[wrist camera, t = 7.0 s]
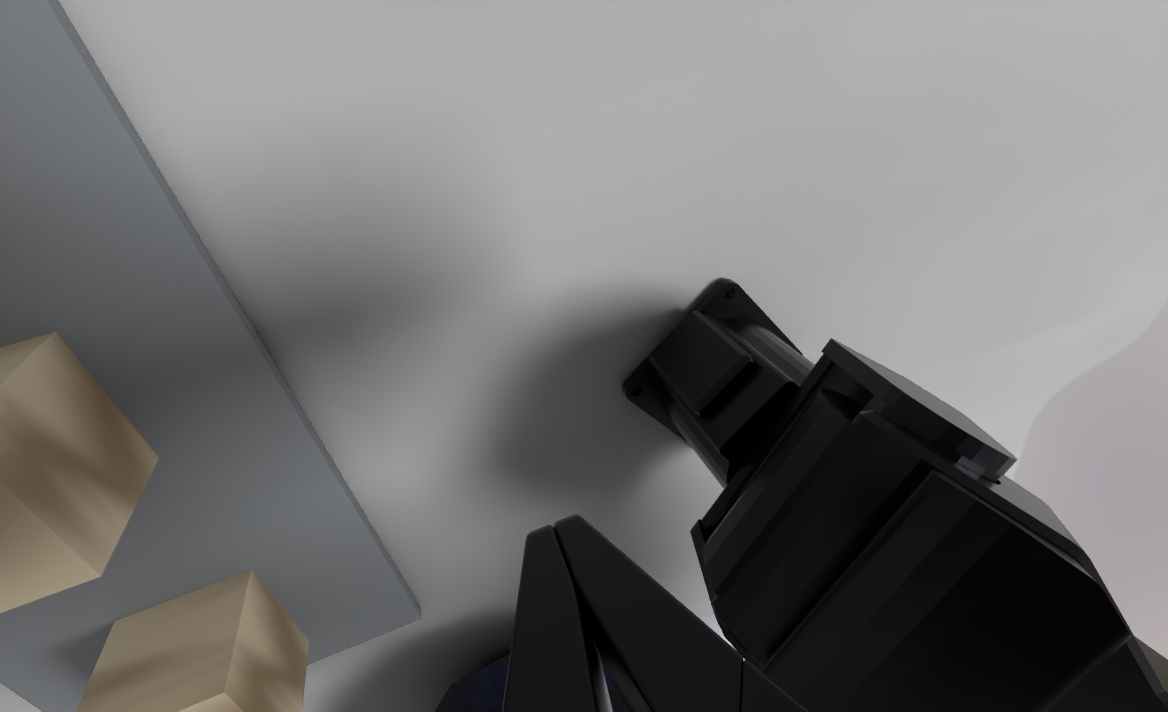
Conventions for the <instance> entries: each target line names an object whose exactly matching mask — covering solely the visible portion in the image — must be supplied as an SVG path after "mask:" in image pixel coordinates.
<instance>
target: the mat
mask: <svg viewBox="0 0 1168 712" xmlns="http://www.w3.org/2000/svg"><path fill="white" fill-rule="evenodd" d="M55 331H56V333H57V334H58V335H59V336H60V338H61V339H62V340H63V341H64V342H65V344H66V345H67V346H68V347H69V349H70V350H71V351H72V352H73V353H74V355H75V356H76V357H77V358H78V359H79V361H80V362H81V363H82V364H83V366H84V367H85V368H86V369H87V370H88V372H89V373H90V374H91V375H92V376H93V378H94V379H95V380H96V381H97V383H98V384H99V385H100V386H101V387H102V389H103V390H104V391H105V392H106V394H107V395H108V396H109V397H110V398H111V400H112V401H113V402H114V403H115V404H116V406H117V407H118V408H119V409H120V411H121V412H122V413H123V414H124V415H125V417H126V418H127V419H128V420H129V421H130V423H131V424H132V425H133V426H134V428H135V429H136V430H137V431H138V432H139V434H140V435H141V436H142V437H143V439H144V440H145V441H146V442H147V443H148V445H149V446H150V447H151V448H152V449H153V451H154V452H155V453H156V454H157V456H158V457H159V460H158V462H157V464H156V466H155V468H154V470H153V472H152V474H151V476H150V478H149V480H148V482H147V484H146V486H145V488H144V490H143V492H142V494H141V496H140V498H139V500H138V502H137V504H136V506H135V508H134V510H133V513H132V515H131V517H130V519H129V521H128V523H127V525H126V527H125V529H124V531H123V533H122V535H121V537H120V539H119V541H118V543H117V545H116V547H115V549H114V551H113V553H112V555H111V557H110V559H109V561H108V563H107V565H106V567H105V569H104V571H103V573H102V575H101V577H98V578H96V579H93V580H90V581H87V582H85V583H82V584H79V585H76V586H74V587H71V588H68V589H65V590H63V591H60V592H57V593H54V594H52V595H49V596H46V597H43V598H41V599H38V600H35V601H32V602H30V603H27V604H24V605H21V606H19V607H16V608H13V609H10V610H8V611H5V612H2V613H0V683H2V684H3V685H4V686H6V687H7V688H9V689H10V690H12V691H13V692H15V693H16V694H18V695H19V696H21V697H22V698H23V699H25V700H26V701H28V702H29V703H31V704H32V705H34V706H35V707H37V708H38V709H40V710H41V711H42V712H76V710H77V707H78V705H79V703H80V700H81V698H82V696H83V693H84V691H85V689H86V687H87V684H88V682H89V680H90V677H91V675H92V673H93V670H94V668H95V666H96V663H97V661H98V659H99V656H100V654H101V652H102V649H103V647H104V645H105V643H106V640H107V638H108V636H109V633H110V631H111V629H112V626H113V624H114V622H115V621H117V620H119V619H122V618H125V617H127V616H130V615H133V614H135V613H138V612H141V611H143V610H146V609H148V608H151V607H154V606H156V605H159V604H162V603H164V602H167V601H170V600H172V599H175V598H178V597H180V596H183V595H186V594H188V593H191V592H194V591H196V590H199V589H202V588H204V587H207V586H209V585H212V584H215V583H217V582H220V581H223V580H225V579H228V578H231V577H233V576H236V575H239V574H241V573H244V572H247V571H249V570H252V571H253V573H254V574H255V575H256V576H257V578H258V579H259V580H260V581H261V582H262V584H263V585H264V586H265V587H266V589H267V590H268V591H269V592H270V593H271V595H272V596H273V597H274V598H275V599H276V601H277V602H278V603H279V604H280V606H281V607H282V608H283V609H284V610H285V612H286V613H287V614H288V615H289V616H290V618H291V619H292V620H293V621H294V623H295V624H296V625H297V626H298V627H299V629H300V630H301V631H302V632H303V633H304V635H305V636H306V637H307V638H308V640H309V646H308V656H307V665H308V664H311V663H313V662H315V661H318V660H320V659H323V658H325V657H328V656H330V655H333V654H335V653H337V652H340V651H342V650H345V649H347V648H350V647H352V646H355V645H357V644H359V643H362V642H364V641H367V640H369V639H372V638H374V637H377V636H379V635H381V634H384V633H386V632H389V631H391V630H394V629H396V628H398V627H401V626H403V625H406V624H408V623H411V622H413V621H416V620H418V619H420V618H421V608H420V606H419V604H418V602H417V601H416V599H415V597H414V596H413V594H412V592H411V591H410V589H409V587H408V586H407V584H406V582H405V581H404V579H403V577H402V576H401V574H400V572H399V571H398V569H397V567H396V566H395V564H394V562H393V561H392V559H391V557H390V555H389V554H388V552H387V550H386V549H385V547H384V545H383V544H382V542H381V540H380V539H379V537H378V535H377V534H376V532H375V530H374V529H373V527H372V525H371V524H370V522H369V520H368V519H367V517H366V515H365V514H364V512H363V510H362V509H361V507H360V505H359V504H358V502H357V500H356V499H355V497H354V495H353V494H352V492H351V490H350V489H349V487H348V485H347V483H346V482H345V480H344V478H343V477H342V475H341V473H340V472H339V470H338V468H337V467H336V465H335V463H334V462H333V460H332V458H331V457H330V455H329V453H328V452H327V450H326V448H325V447H324V445H323V443H322V442H321V440H320V438H319V437H318V435H317V433H316V432H315V430H314V428H313V427H312V425H311V423H310V422H309V420H308V418H307V417H306V415H305V413H304V411H303V410H302V408H301V406H300V405H299V403H298V401H297V400H296V398H295V396H294V395H293V393H292V391H291V390H290V388H289V386H288V385H287V383H286V381H285V380H284V378H283V376H282V375H281V373H280V371H279V370H278V368H277V366H276V365H275V363H274V361H273V360H272V358H271V356H270V355H269V353H268V351H267V350H266V348H265V346H264V345H263V343H262V341H261V340H260V338H259V336H258V334H257V333H256V331H255V329H254V328H253V326H252V324H251V323H250V321H249V319H248V318H247V316H246V314H245V313H244V311H243V309H242V308H241V306H240V304H239V303H238V301H237V299H236V298H235V296H234V294H233V293H232V291H231V289H230V288H229V286H228V284H227V283H226V281H225V279H224V278H223V276H222V274H221V273H220V271H219V269H218V268H217V266H216V264H215V262H214V261H213V259H212V257H211V256H210V254H209V252H208V251H207V249H206V247H205V246H204V244H203V242H202V241H201V239H200V237H199V236H198V234H197V232H196V231H195V229H194V227H193V226H192V224H191V222H190V221H189V219H188V217H187V216H186V214H185V212H184V211H183V209H182V207H181V206H180V204H179V202H178V201H177V199H176V197H175V196H174V194H173V192H172V190H171V189H170V187H169V185H168V184H167V182H166V180H165V179H164V177H163V175H162V174H161V172H160V170H159V169H158V167H157V165H156V164H155V162H154V160H153V159H152V157H151V155H150V154H149V152H148V150H147V149H146V147H145V145H144V144H143V142H142V140H141V139H140V137H139V135H138V134H137V132H136V130H135V129H134V127H133V125H132V124H131V122H130V120H129V119H128V117H127V115H126V113H125V112H124V110H123V108H122V107H121V105H120V103H119V102H118V100H117V98H116V97H115V95H114V93H113V92H112V90H111V88H110V87H109V85H108V83H107V82H106V80H105V78H104V77H103V75H102V73H101V72H100V70H99V68H98V67H97V65H96V63H95V62H94V60H93V58H92V57H91V55H90V53H89V52H88V50H87V48H86V47H85V45H84V43H83V41H82V40H81V38H80V36H79V35H78V33H77V31H76V30H75V28H74V26H73V25H72V23H71V21H70V20H69V18H68V16H67V15H66V13H65V11H64V10H63V8H62V6H61V5H60V3H59V1H58V0H0V348H1V347H5V346H8V345H11V344H15V343H18V342H21V341H25V340H28V339H32V338H35V337H38V336H42V335H45V334H49V333H52V332H55Z"/></svg>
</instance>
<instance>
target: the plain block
mask: <svg viewBox="0 0 1168 712" xmlns="http://www.w3.org/2000/svg"><path fill="white" fill-rule="evenodd" d="M158 460H159V457H158V456H157V454H156V453H155V452H154V451H153V449H152V448H151V447H150V446H149V445H148V443H147V442H146V441H145V440H144V439H143V437H142V436H141V435H140V434H139V432H138V431H137V430H136V429H135V428H134V426H133V425H132V424H131V423H130V421H129V420H128V419H127V418H126V417H125V415H124V414H123V413H122V412H121V411H120V409H119V408H118V407H117V406H116V404H115V403H114V402H113V401H112V400H111V398H110V397H109V396H108V395H107V394H106V392H105V391H104V390H103V389H102V387H101V386H100V385H99V384H98V383H97V381H96V380H95V379H94V378H93V376H92V375H91V374H90V373H89V372H88V370H87V369H86V368H85V367H84V366H83V364H82V363H81V362H80V361H79V359H78V358H77V357H76V356H75V355H74V353H73V352H72V351H71V350H70V349H69V347H68V346H67V345H66V344H65V342H64V341H63V340H62V339H61V338H60V336H59V335H58V334H57V333H56V331H55V332H52V333H49V334H45V335H42V336H38V337H35V338H32V339H28V340H25V341H21V342H18V343H15V344H11V345H8V346H5V347H1V348H0V613H2V612H5V611H8V610H10V609H13V608H16V607H19V606H21V605H24V604H27V603H30V602H32V601H35V600H38V599H41V598H43V597H46V596H49V595H52V594H54V593H57V592H60V591H63V590H65V589H68V588H71V587H74V586H76V585H79V584H82V583H85V582H87V581H90V580H93V579H96V578H98V577H101V575H102V573H103V571H104V569H105V567H106V565H107V563H108V561H109V559H110V557H111V555H112V553H113V551H114V549H115V547H116V545H117V543H118V541H119V539H120V537H121V535H122V533H123V531H124V529H125V527H126V525H127V523H128V521H129V519H130V517H131V515H132V513H133V510H134V508H135V506H136V504H137V502H138V500H139V498H140V496H141V494H142V492H143V490H144V488H145V486H146V484H147V482H148V480H149V478H150V476H151V474H152V472H153V470H154V468H155V466H156V464H157V462H158Z"/></svg>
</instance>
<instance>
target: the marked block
mask: <svg viewBox="0 0 1168 712" xmlns="http://www.w3.org/2000/svg"><path fill="white" fill-rule="evenodd" d="M308 646H309V640H308V638H307V637H306V636H305V635H304V633H303V632H302V631H301V630H300V629H299V627H298V626H297V625H296V624H295V623H294V621H293V620H292V619H291V618H290V616H289V615H288V614H287V613H286V612H285V610H284V609H283V608H282V607H281V606H280V604H279V603H278V602H277V601H276V599H275V598H274V597H273V596H272V595H271V593H270V592H269V591H268V590H267V589H266V587H265V586H264V585H263V584H262V582H261V581H260V580H259V579H258V578H257V576H256V575H255V574H254V573H253V571H252V570H249V571H247V572H244V573H241V574H239V575H236V576H233V577H231V578H228V579H225V580H223V581H220V582H217V583H215V584H212V585H209V586H207V587H204V588H202V589H199V590H196V591H194V592H191V593H188V594H186V595H183V596H180V597H178V598H175V599H172V600H170V601H167V602H164V603H162V604H159V605H156V606H154V607H151V608H148V609H146V610H143V611H141V612H138V613H135V614H133V615H130V616H127V617H125V618H122V619H119V620H117V621H115V622H114V624H113V626H112V629H111V631H110V633H109V636H108V638H107V640H106V643H105V645H104V647H103V649H102V652H101V654H100V656H99V659H98V661H97V663H96V666H95V668H94V670H93V673H92V675H91V677H90V680H89V682H88V684H87V687H86V689H85V691H84V693H83V696H82V698H81V700H80V703H79V705H78V707H77V710H76V712H302V706H303V696H304V686H305V676H306V666H307V656H308Z"/></svg>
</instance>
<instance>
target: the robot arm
mask: <svg viewBox="0 0 1168 712" xmlns="http://www.w3.org/2000/svg"><path fill="white" fill-rule="evenodd" d="M729 288H730V291H729V293H728V294H727V295H726V296H724V293H725V291H726V290H727V289H729ZM822 352H823V353H824V354H823V355H822V356H821V358H820V359H819V361H818V362H817V363H816V365H814V364H813V363H812V362H810V361H809V360H808V359H806V358H805V357H804V356H803V354H802V353H801V352H800V351H799V350H798V349H797V348H796V347H795V345H794V344H793V343H792V342H791V341H790V340H789V339H788V338H787V337H786V336H785V335H784V334H783V332H782V331H781V330H780V329H779V328H778V327H777V326H776V325H775V324H774V323H773V322H772V321H771V320H770V318H769V317H768V316H767V315H766V314H765V313H764V312H763V311H762V310H761V309H760V308H759V307H758V305H757V304H756V303H755V302H754V301H753V300H752V299H751V298H750V297H749V296H748V295H747V294H746V293H745V291H744V290H743V289H742V288H741V287H740V286H739V285H738V284H736V283H735V282H734V281H732V280H730V279H724V280H722V281H720V282H719V283H718V284H717V285H716V286H715V287H714V288H713V289H712V290H711V291H710V292H709V293H708V294H707V295H706V296H705V297H704V298H703V300H702V301H701V302H700V303H699V304H698V305H697V306H696V307H695V308H694V309H693V310H692V311H691V312H690V313H689V314H688V315H687V316H686V317H685V318H684V319H683V320H682V321H681V323H680V324H679V325H678V326H677V327H676V328H675V329H674V330H673V331H672V332H671V333H670V334H669V335H668V336H667V337H666V338H665V339H664V340H663V341H662V342H661V344H660V345H659V346H658V347H657V348H656V349H655V350H654V351H653V352H652V353H651V354H650V355H649V356H648V357H647V358H646V359H645V360H644V362H643V363H642V364H641V365H640V366H639V367H638V368H637V369H636V370H635V371H634V372H633V373H632V374H631V375H630V376H629V377H628V378H627V379H626V380H625V382H624V383H623V386H622V390H623V393H624V394H625V395H626V397H627V398H628V399H629V400H630V401H631V402H633V403H634V404H636V405H637V406H638V407H640V408H641V409H642V410H644V411H645V412H647V413H648V414H649V415H651V416H652V417H653V418H655V419H656V420H657V421H659V422H660V423H662V424H663V425H664V426H666V427H667V428H668V429H670V430H671V431H673V432H674V433H675V434H677V435H678V436H679V437H681V438H682V439H683V440H685V441H686V442H688V443H689V444H690V446H691V447H692V448H693V449H694V451H695V452H696V453H697V455H698V456H699V457H700V458H701V460H702V461H703V462H704V464H705V465H706V466H707V468H708V469H709V470H710V471H711V473H712V474H713V475H714V477H715V478H716V479H717V481H718V482H719V483H720V484H721V486H722V487H723V488H724V490H723V491H722V493H721V494H720V496H719V497H718V498H717V500H716V501H715V502H714V504H713V505H712V506H711V508H710V509H709V511H708V512H707V513H706V515H705V516H704V517H703V519H702V520H700V519H699V520H698V521H697V522H696V524H695V525H694V526H693V528H692V529H691V531H690V532H691V536H692V539H693V543H694V546H695V549H696V553H697V556H698V560H699V563H700V567H701V570H702V574H703V577H704V580H705V584H706V587H707V591H708V594H709V598H710V601H711V605H712V608H713V611H714V614H715V617H716V619H717V622H718V624H719V626H720V628H721V629H722V632H723V634H724V636H725V638H726V639H727V640H728V641H729V642H730V643H731V644H732V645H733V647H734V648H735V649H736V650H737V651H738V652H737V651H736V650H735V649H734V648H733V647H732V646H730V645H729V644H728V643H727V642H726V641H725V640H723V639H722V638H721V637H720V636H719V635H718V634H717V633H715V632H714V631H713V630H712V629H711V628H710V627H708V626H707V625H706V624H705V623H704V622H703V621H701V620H700V619H699V618H698V617H697V616H696V615H695V614H693V613H692V612H691V611H690V610H689V609H688V608H686V607H685V606H684V605H683V604H682V603H681V602H679V601H678V600H677V599H676V598H675V597H674V596H673V595H671V594H670V593H669V592H668V591H667V590H666V589H664V588H663V587H662V586H661V585H660V584H659V583H657V582H656V581H655V580H654V579H653V578H652V577H651V576H649V575H648V574H647V573H646V572H645V571H644V570H642V569H641V568H640V567H639V566H638V565H637V564H635V563H634V562H633V561H632V560H631V559H630V558H628V557H627V556H626V555H625V554H624V553H623V552H622V551H620V550H619V549H618V548H617V547H616V546H615V545H613V544H612V543H611V542H610V541H609V540H608V539H606V538H605V537H604V536H603V535H602V534H601V533H600V532H598V531H597V530H596V529H595V528H594V527H593V526H591V525H590V524H589V523H588V522H587V521H586V520H584V519H583V518H582V517H581V516H579V515H572V516H570V517H567V518H565V519H562V520H559V521H557V522H556V523H555V524H554V528H553V526H551V525H547V526H544V527H542V528H539V529H537V530H534V531H532V532H530V533H529V534H528V535H527V537H526V543H525V550H524V557H523V564H522V571H521V579H520V586H519V593H518V600H517V607H516V614H515V622H514V629H513V636H512V643H511V650H510V657H509V665H508V672H507V679H506V686H505V693H504V701H503V708H502V712H613V711H612V706H611V702H610V698H609V694H608V689H607V685H606V681H605V677H604V673H603V669H602V665H601V662H600V659H599V656H600V658H601V661H602V663H603V665H604V667H605V669H606V672H607V674H608V676H609V678H610V680H611V682H612V684H613V686H614V688H615V690H616V692H617V694H618V696H619V698H620V700H621V702H622V704H623V706H624V708H625V710H626V712H1168V660H1167V659H1166V658H1165V657H1163V656H1162V655H1160V654H1159V653H1157V652H1156V651H1154V650H1153V649H1152V648H1150V647H1149V646H1147V645H1146V644H1145V643H1143V642H1142V641H1140V640H1139V639H1138V638H1136V637H1135V636H1134V635H1133V633H1132V632H1131V630H1130V628H1129V626H1128V625H1127V623H1126V621H1125V619H1124V618H1123V616H1122V614H1121V612H1120V611H1119V609H1118V607H1117V605H1116V604H1115V602H1114V600H1113V598H1112V597H1111V595H1110V593H1109V591H1108V590H1107V588H1106V586H1105V584H1104V583H1103V581H1102V579H1101V577H1100V576H1099V574H1098V572H1097V570H1096V569H1095V567H1094V565H1093V563H1092V561H1091V560H1090V558H1089V557H1088V556H1087V554H1086V553H1085V552H1084V551H1083V549H1082V548H1081V547H1080V545H1079V544H1078V543H1077V542H1076V540H1075V539H1074V538H1073V536H1072V535H1071V534H1070V533H1069V531H1068V530H1067V529H1066V528H1065V526H1064V525H1063V524H1062V523H1061V521H1060V520H1059V519H1058V517H1057V516H1056V515H1055V514H1054V512H1053V511H1052V510H1051V508H1050V507H1049V506H1048V505H1047V504H1046V503H1044V502H1043V501H1042V500H1041V499H1039V498H1038V497H1036V496H1035V495H1033V494H1032V493H1030V492H1029V491H1027V490H1026V489H1024V488H1023V487H1021V486H1020V485H1018V484H1016V483H1015V482H1014V481H1012V480H1010V479H1009V478H1007V477H1006V476H1004V474H1005V473H1006V472H1007V471H1008V469H1009V468H1010V467H1011V466H1012V465H1013V464H1014V463H1015V462H1016V461H1017V460H1018V459H1017V458H1016V457H1015V456H1014V455H1012V454H1011V453H1010V452H1009V451H1008V450H1006V449H1005V448H1004V447H1003V446H1002V445H1000V444H999V443H998V442H997V441H995V440H994V439H993V438H992V437H991V436H989V435H988V434H987V433H986V432H985V431H983V430H982V429H981V428H980V427H979V426H977V425H976V424H975V423H974V422H973V421H971V420H970V419H969V418H968V417H966V416H965V415H964V414H962V413H961V412H959V411H958V410H956V409H955V408H953V407H952V406H950V405H948V404H947V403H945V402H944V401H942V400H940V399H939V398H937V397H936V396H934V395H932V394H931V393H929V392H928V391H926V390H924V389H923V388H921V387H920V386H918V385H916V384H915V383H913V382H912V381H910V380H908V379H907V378H905V377H903V376H901V375H899V374H897V373H896V372H894V371H892V370H890V369H888V368H886V367H884V366H882V365H881V364H879V363H877V362H875V361H873V360H871V359H869V358H867V357H866V356H864V355H862V354H860V353H858V352H856V351H854V350H853V349H851V348H849V347H847V346H845V345H843V344H841V343H839V342H838V341H836V340H834V339H832V338H831V339H830V340H829V342H828V343H827V345H826V346H825V347H824V349H823V350H822ZM635 386H638V388H637V389H636V390H634V391H631V390H632V388H633V387H635ZM554 529H555V530H554ZM555 532H556V533H555ZM595 645H596V646H595ZM596 648H597V649H596ZM597 650H598V652H597ZM598 653H599V656H598ZM743 658H744V659H745V661H744V662H743Z"/></svg>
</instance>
